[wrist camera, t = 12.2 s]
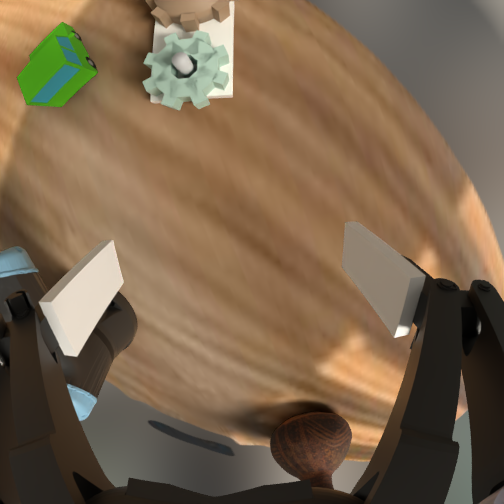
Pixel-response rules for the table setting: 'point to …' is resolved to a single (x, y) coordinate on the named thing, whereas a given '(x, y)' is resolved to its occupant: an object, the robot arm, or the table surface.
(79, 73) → the toy car
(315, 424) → the brown wooden bulbous vase
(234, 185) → the table surface
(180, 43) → the loose gear
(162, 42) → the gear board
